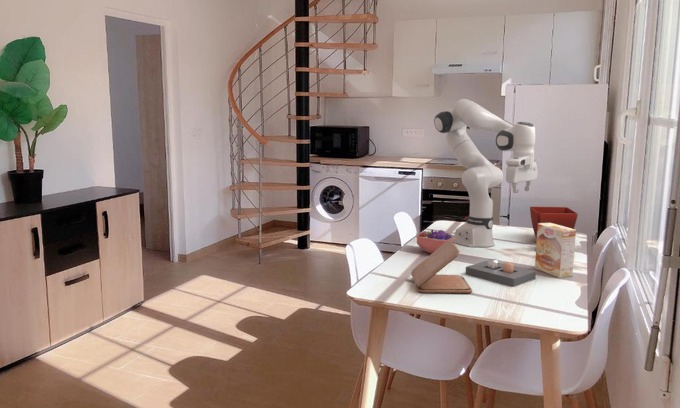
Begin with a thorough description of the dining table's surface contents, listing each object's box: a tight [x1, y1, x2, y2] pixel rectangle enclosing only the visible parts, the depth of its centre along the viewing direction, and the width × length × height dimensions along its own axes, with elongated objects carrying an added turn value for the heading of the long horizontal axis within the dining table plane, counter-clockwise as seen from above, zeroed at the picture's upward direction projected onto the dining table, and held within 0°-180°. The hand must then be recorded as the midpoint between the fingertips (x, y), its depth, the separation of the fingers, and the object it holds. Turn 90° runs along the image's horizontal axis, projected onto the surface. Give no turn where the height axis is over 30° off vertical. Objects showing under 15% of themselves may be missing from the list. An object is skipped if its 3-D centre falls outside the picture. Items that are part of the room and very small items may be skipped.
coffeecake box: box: [534, 223, 577, 279], centre depth 228 cm, size 15×7×20 cm, turn 20°
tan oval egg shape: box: [502, 261, 515, 274], centre depth 220 cm, size 4×4×6 cm
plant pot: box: [529, 206, 578, 240], centre depth 282 cm, size 19×19×17 cm
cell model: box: [415, 229, 456, 254], centre depth 260 cm, size 17×20×11 cm
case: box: [410, 241, 473, 294], centre depth 210 cm, size 20×21×16 cm
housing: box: [465, 259, 537, 287], centre depth 223 cm, size 22×16×3 cm
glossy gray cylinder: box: [487, 258, 499, 270], centre depth 225 cm, size 4×4×6 cm
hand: (521, 191), depth 241 cm, fingers open, 8 cm apart
